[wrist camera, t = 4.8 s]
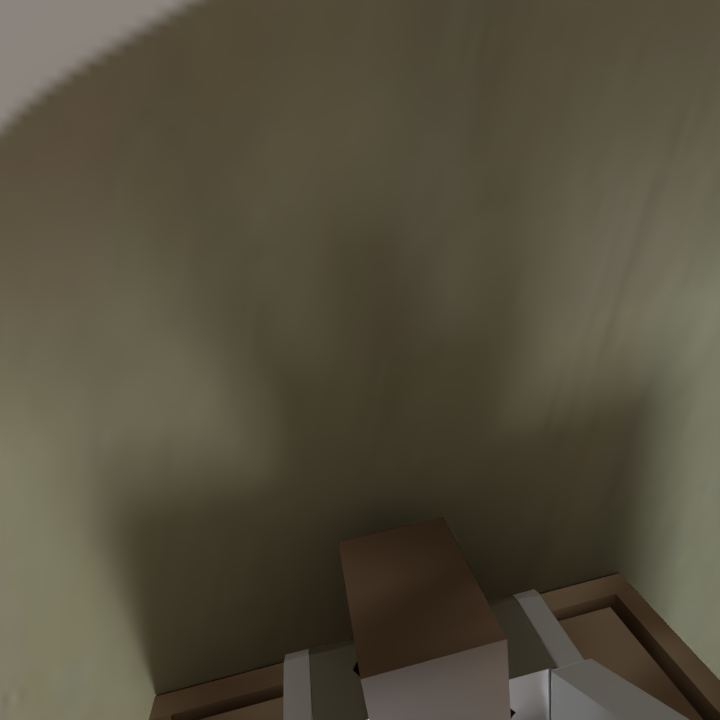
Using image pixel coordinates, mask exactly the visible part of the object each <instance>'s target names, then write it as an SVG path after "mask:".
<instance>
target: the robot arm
mask: <svg viewBox="0 0 720 720" xmlns="http://www.w3.org/2000/svg"><path fill="white" fill-rule="evenodd" d="M487 602H488V604H489V606H490V607H491V609H492V611H493V613H494V615H495V617H496V619H497V621H498V623H499V625H500V627H501V628H502V630H503V632H504V634H505V636H506V638H507V648H508V670H509V691H510V712H511V720H689V719H688V718H686V717H685V716H683V715H681V714H680V713H678V712H676V711H675V710H673V709H672V708H670V707H668V706H667V705H665V704H664V703H662V702H660V701H659V700H657V699H656V698H654V697H652V696H651V695H649V694H648V693H646V692H644V691H643V690H641V689H640V688H638V687H636V686H635V685H633V684H632V683H630V682H628V681H627V680H625V679H624V678H622V677H620V676H619V675H617V674H616V673H614V672H612V671H611V670H609V669H608V668H606V667H604V666H603V665H601V664H600V663H598V662H596V661H595V660H593V659H587V660H584V659H583V657H582V656H581V654H580V653H579V651H578V650H577V648H576V647H575V646H574V644H573V643H572V641H571V640H570V638H569V637H568V635H567V634H566V632H565V631H564V629H563V628H562V626H561V625H560V623H559V622H558V621H557V619H556V618H555V616H554V615H553V613H552V612H551V610H550V609H549V607H548V606H547V604H546V603H545V601H544V600H543V598H542V597H541V595H540V594H539V593H538V592H537V591H535V590H529V591H525V592H522V593H518V594H515V595H512V596H511V595H508V596H505V597H501V598H498V599H494V600H491V601H487ZM283 720H369V717H368V712H367V708H366V703H365V698H364V694H363V689H362V684H361V680H360V674H359V667H358V661H357V655H356V649H355V643H354V638H352V639H348V640H344V641H339V642H335V643H331V644H326V645H322V646H318V647H313V648H309V649H305V650H301V651H297V652H293V653H289V654H286V655H285V659H284V691H283Z"/></svg>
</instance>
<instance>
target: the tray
mask: <svg viewBox="0 0 720 720" xmlns="http://www.w3.org/2000/svg"><path fill="white" fill-rule="evenodd" d="M338 544H339V551H340V557H341V563H342V569H343V575H344V581H345V587H346V594H347V600H348V606H349V612H350V618H351V624H352V630H353V637H354V643H355V649H356V655H357V661H358V667H359V674H360V680H361V684H362V689H363V694H364V698H365V703H366V708H367V712H368V717H369V720H511V712H510V691H509V670H508V648H507V638H506V636H505V634H504V632H503V630H502V628H501V627H500V625H499V623H498V621H497V619H496V617H495V615H494V613H493V611H492V609H491V607H490V606H489V604H488V602H487V600H486V598H485V596H484V594H483V592H482V590H481V588H480V586H479V585H478V583H477V581H476V579H475V577H474V575H473V573H472V571H471V569H470V567H469V565H468V563H467V562H466V560H465V558H464V556H463V554H462V552H461V550H460V548H459V546H458V544H457V542H456V541H455V539H454V537H453V535H452V533H451V531H450V529H449V527H448V525H447V523H446V521H445V520H444V518H443V517H441V518H437V519H433V520H428V521H424V522H420V523H416V524H412V525H408V526H403V527H399V528H395V529H391V530H387V531H383V532H378V533H374V534H370V535H366V536H362V537H358V538H353V539H349V540H345V541H341V542H338ZM558 622H559V623H560V625H561V626H562V628H563V629H564V631H565V632H566V634H567V635H568V637H569V638H570V640H571V641H572V643H573V644H574V646H575V647H576V648H577V650H578V651H579V653H580V654H581V656H582V657H583V659H584V660H587V659H593V660H595V661H596V662H598V663H600V664H601V665H603V666H604V667H606V668H608V669H609V670H611V671H612V672H614V673H616V674H617V675H619V676H620V677H622V678H624V679H625V680H627V681H628V682H630V683H632V684H633V685H635V686H636V687H638V688H640V689H641V690H643V691H644V692H646V693H648V694H649V695H651V696H652V697H654V698H656V699H657V700H659V701H660V702H662V703H664V704H665V705H667V706H668V707H670V708H672V709H673V710H675V711H676V712H678V713H680V714H681V715H683V716H685V717H686V718H688V719H689V720H703V719H702V717H701V716H700V715H699V714H698V712H697V711H696V710H695V709H694V708H693V706H692V705H691V704H690V703H689V702H688V700H687V699H686V698H685V697H684V696H683V694H682V693H681V692H680V691H679V690H678V688H677V687H676V686H675V685H674V684H673V682H672V681H671V680H670V679H669V677H668V676H667V675H666V674H665V673H664V671H663V670H662V669H661V668H660V667H659V665H658V664H657V663H656V662H655V661H654V659H653V658H652V657H651V656H650V655H649V653H648V652H647V651H646V650H645V648H644V647H643V646H642V645H641V644H640V642H639V641H638V640H637V639H636V638H635V636H634V635H633V634H632V633H631V632H630V630H629V629H628V628H627V627H626V626H625V624H624V623H623V622H622V621H621V620H620V618H619V617H618V616H617V615H616V613H615V612H614V611H613V610H612V609H611V607H609V608H605V609H601V610H598V611H594V612H590V613H587V614H583V615H579V616H576V617H572V618H568V619H565V620H561V621H558ZM200 720H283V697H280V698H277V699H273V700H269V701H266V702H262V703H259V704H255V705H251V706H248V707H244V708H240V709H237V710H233V711H229V712H226V713H222V714H218V715H215V716H211V717H208V718H204V719H200Z"/></svg>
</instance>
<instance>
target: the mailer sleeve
mask: <svg viewBox="0 0 720 720" xmlns="http://www.w3.org/2000/svg"><path fill="white" fill-rule="evenodd" d="M540 595H541V597H542V598H543V600H544V601H545V603H546V604H547V606H548V607H549V609H550V610H551V612H552V613H553V615H554V616H555V618H556V619H557V621H561V620H565V619H568V618H572V617H576V616H579V615H583V614H587V613H590V612H594V611H598V610H601V609H605V608H609V607H611V609H612V610H613V611H614V612H615V613H616V615H617V616H618V617H619V618H620V620H621V621H622V622H623V623H624V624H625V626H626V627H627V628H628V629H629V630H630V632H631V633H632V634H633V635H634V636H635V638H636V639H637V640H638V641H639V642H640V644H641V645H642V646H643V647H644V648H645V650H646V651H647V652H648V653H649V655H650V656H651V657H652V658H653V659H654V661H655V662H656V663H657V664H658V665H659V667H660V668H661V669H662V670H663V671H664V673H665V674H666V675H667V676H668V677H669V679H670V680H671V681H672V682H673V684H674V685H675V686H676V687H677V688H678V690H679V691H680V692H681V693H682V694H683V696H684V697H685V698H686V699H687V700H688V702H689V703H690V704H691V705H692V706H693V708H694V709H695V710H696V711H697V712H698V714H699V715H700V716H701V717H702V719H703V720H720V680H719V679H718V678H717V677H716V676H715V675H714V674H713V673H712V672H711V671H710V670H709V668H708V667H707V666H706V665H705V664H704V663H703V662H702V661H701V660H700V659H699V658H698V657H697V656H696V655H695V653H694V652H693V651H692V650H691V649H690V648H689V647H688V646H687V645H686V644H685V643H684V642H683V641H682V640H681V638H680V637H679V636H678V635H677V634H676V633H675V632H674V631H673V630H672V629H671V628H670V627H669V626H668V625H667V623H666V622H665V621H664V620H663V619H662V618H661V617H660V616H659V615H658V614H657V613H656V612H655V611H654V610H653V608H652V607H651V606H650V605H649V604H648V603H647V602H646V601H645V600H644V599H643V598H642V597H641V596H640V595H639V593H638V592H637V591H636V590H635V589H634V588H633V587H632V586H631V585H630V584H629V583H628V582H627V581H626V580H625V578H624V577H623V576H622V575H621V574H620V573H618V574H614V575H611V576H607V577H603V578H599V579H596V580H592V581H588V582H584V583H580V584H577V585H573V586H569V587H565V588H562V589H558V590H554V591H550V592H547V593H543V594H540ZM283 691H284V663H280V664H276V665H272V666H269V667H265V668H261V669H257V670H254V671H250V672H246V673H242V674H238V675H235V676H231V677H227V678H223V679H220V680H216V681H212V682H208V683H205V684H201V685H197V686H193V687H190V688H186V689H182V690H178V691H175V692H171V693H167V694H163V695H160V696H156V697H155V699H154V703H153V706H152V710H151V714H150V718H149V720H200V719H204V718H208V717H211V716H215V715H218V714H222V713H226V712H229V711H233V710H237V709H240V708H244V707H248V706H251V705H255V704H259V703H262V702H266V701H269V700H273V699H277V698H280V697H283Z"/></svg>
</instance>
